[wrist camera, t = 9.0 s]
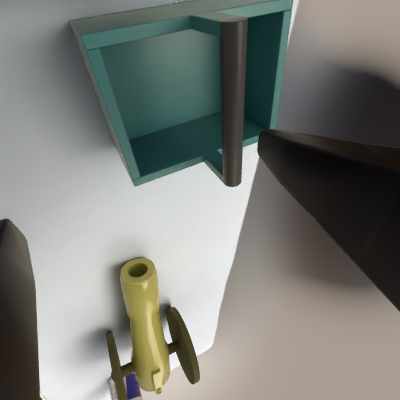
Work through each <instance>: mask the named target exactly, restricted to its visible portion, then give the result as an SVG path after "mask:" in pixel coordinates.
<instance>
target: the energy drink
mask: <svg viewBox="0 0 400 400" xmlns="http://www.w3.org/2000/svg"><path fill="white" fill-rule="evenodd" d="M123 378H124V383H125V388H126V392H127V397H128V400H142V396H141V393H140V389H139V386H138V384H137V382H136V379H135V375H134V372H133V373H131V374H129V375H127V376H125V377H123ZM109 388H110V393H111V399H112V400H118V396H117V391H116V387H115V382H114V381H113V380H112V377H111V378H110V380H109Z"/></svg>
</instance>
